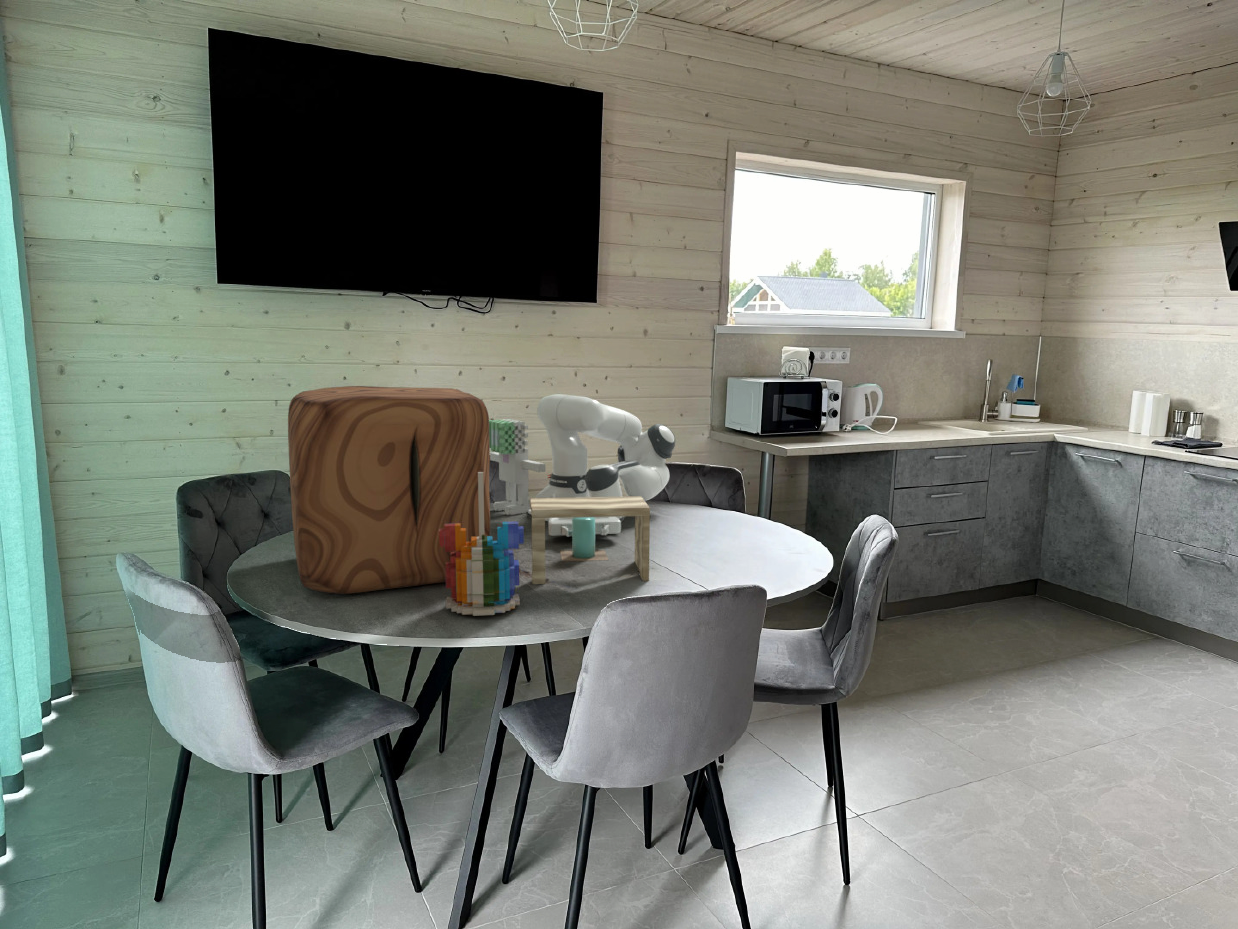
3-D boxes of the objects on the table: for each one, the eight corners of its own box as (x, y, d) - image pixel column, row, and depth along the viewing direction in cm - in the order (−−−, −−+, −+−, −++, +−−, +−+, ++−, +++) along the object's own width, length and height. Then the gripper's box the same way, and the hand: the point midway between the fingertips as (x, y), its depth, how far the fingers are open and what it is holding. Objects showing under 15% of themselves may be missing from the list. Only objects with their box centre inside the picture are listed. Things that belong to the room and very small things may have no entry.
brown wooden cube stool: (292, 555, 232) (283, 385, 225) (460, 541, 249) (456, 382, 242) (299, 605, 191) (288, 399, 184) (499, 584, 208) (496, 394, 201)
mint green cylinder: (567, 555, 231) (567, 518, 229) (584, 551, 235) (584, 514, 233) (582, 559, 226) (582, 521, 225) (599, 555, 230) (599, 518, 229)
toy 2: (471, 506, 296) (469, 417, 291) (497, 502, 302) (495, 415, 298) (519, 522, 273) (518, 426, 268) (546, 517, 279) (545, 424, 275)
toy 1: (440, 622, 181) (436, 479, 177) (442, 599, 197) (439, 467, 192) (526, 618, 184) (525, 477, 180) (522, 595, 200) (520, 465, 195)
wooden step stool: (530, 568, 222) (530, 498, 219) (640, 564, 225) (641, 496, 223) (532, 584, 208) (531, 510, 205) (648, 580, 212) (649, 507, 209)
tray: (559, 554, 235) (559, 551, 235) (604, 553, 236) (604, 550, 236) (562, 564, 225) (562, 561, 225) (608, 563, 226) (608, 559, 226)
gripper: (618, 530, 253) (624, 543, 239) (547, 532, 250) (549, 545, 237) (618, 509, 252) (624, 520, 238) (546, 511, 249) (549, 522, 236)
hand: (586, 533), depth 237 cm, fingers open, 8 cm apart
